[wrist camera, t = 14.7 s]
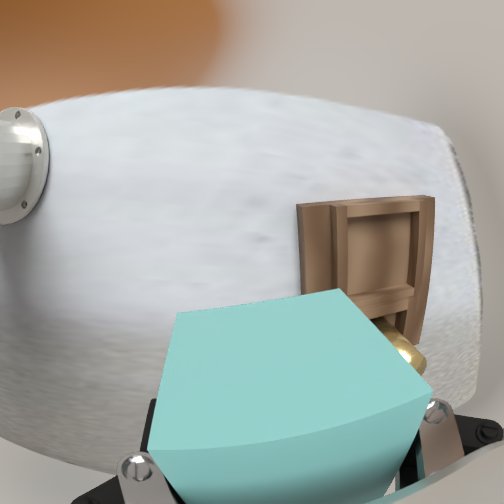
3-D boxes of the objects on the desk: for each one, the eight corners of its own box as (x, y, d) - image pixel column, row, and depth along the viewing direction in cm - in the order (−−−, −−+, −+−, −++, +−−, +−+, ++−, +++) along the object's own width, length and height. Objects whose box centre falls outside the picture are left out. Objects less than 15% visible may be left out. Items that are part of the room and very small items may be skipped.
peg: (354, 349, 29) (386, 395, 22) (357, 318, 28) (394, 362, 21) (384, 341, 30) (420, 382, 22) (389, 311, 29) (430, 350, 21)
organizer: (302, 364, 32) (312, 386, 28) (296, 204, 26) (309, 210, 23) (410, 337, 33) (426, 353, 29) (423, 195, 28) (446, 199, 24)
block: (209, 421, 12) (212, 533, 6) (177, 312, 10) (146, 449, 4) (334, 399, 12) (381, 498, 6) (339, 288, 11) (433, 390, 5)
